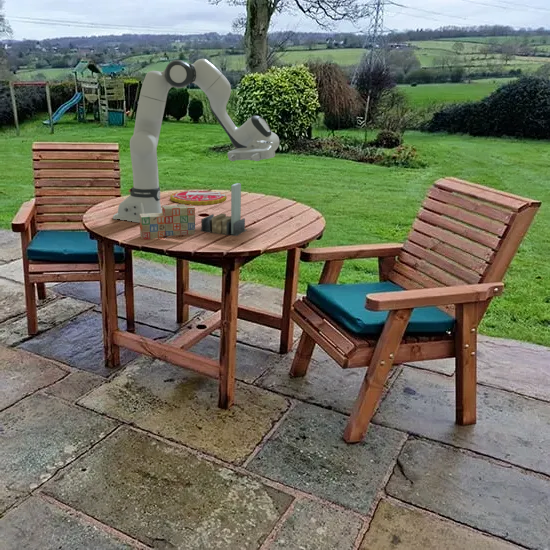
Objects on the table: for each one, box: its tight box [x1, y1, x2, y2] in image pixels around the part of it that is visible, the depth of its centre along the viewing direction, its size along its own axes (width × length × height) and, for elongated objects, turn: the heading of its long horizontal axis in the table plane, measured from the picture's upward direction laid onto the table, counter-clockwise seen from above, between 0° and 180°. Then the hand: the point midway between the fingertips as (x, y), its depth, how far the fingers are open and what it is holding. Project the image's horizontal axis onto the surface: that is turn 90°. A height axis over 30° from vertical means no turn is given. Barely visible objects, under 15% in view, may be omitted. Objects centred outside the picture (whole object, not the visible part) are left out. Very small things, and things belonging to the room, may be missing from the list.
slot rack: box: [200, 213, 248, 237], centre depth 221 cm, size 17×11×6 cm, turn 69°
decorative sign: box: [169, 189, 228, 206], centre depth 284 cm, size 30×3×30 cm
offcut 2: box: [215, 215, 231, 235], centre depth 221 cm, size 2×10×5 cm, turn 159°
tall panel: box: [230, 182, 242, 234], centre depth 217 cm, size 2×6×20 cm, turn 159°
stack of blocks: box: [139, 204, 196, 240], centre depth 213 cm, size 21×6×12 cm, turn 111°
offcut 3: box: [222, 215, 231, 234], centre depth 220 cm, size 2×8×6 cm, turn 159°
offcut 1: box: [212, 213, 227, 234], centre depth 222 cm, size 2×9×6 cm, turn 159°
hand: (241, 158), depth 220 cm, fingers open, 8 cm apart
